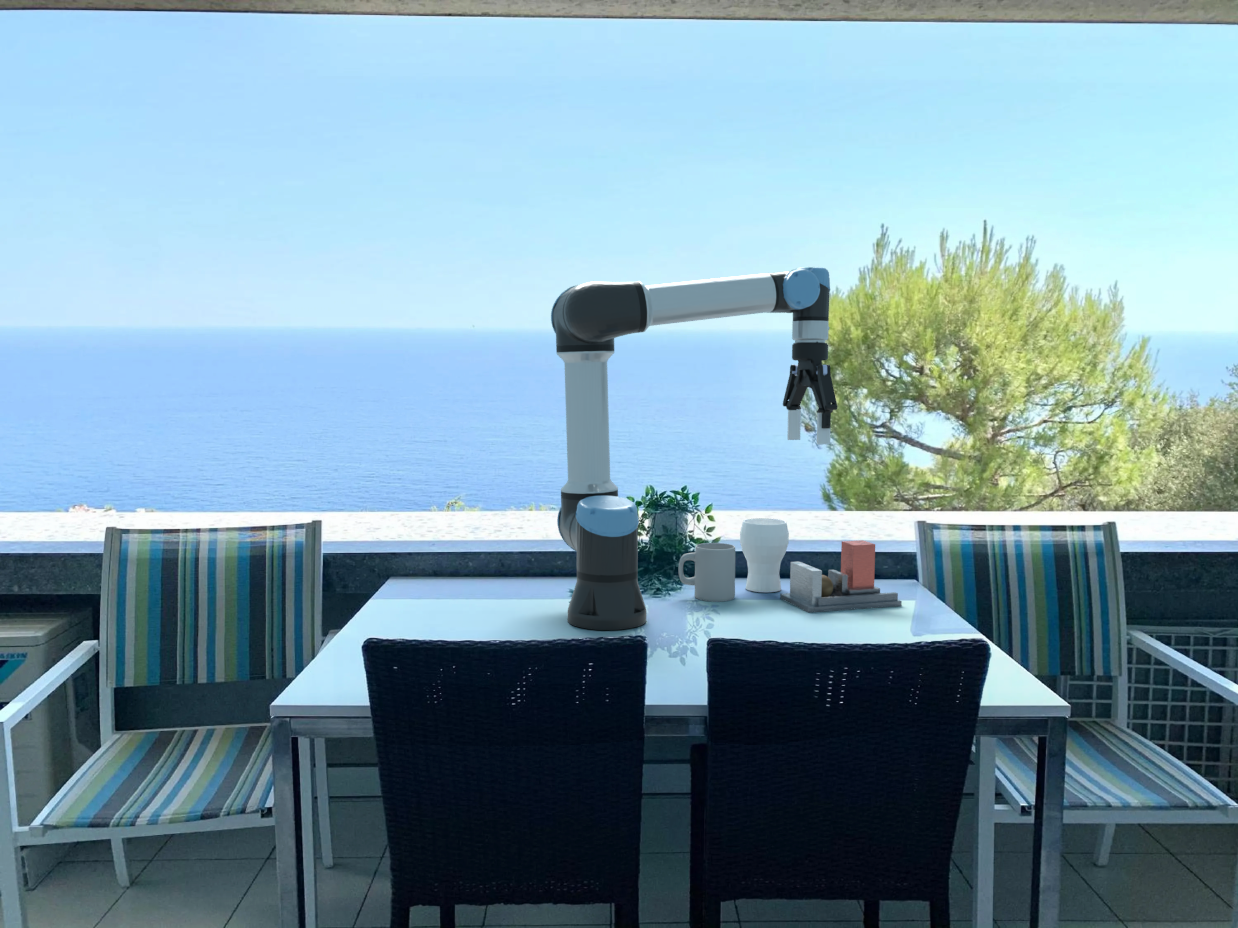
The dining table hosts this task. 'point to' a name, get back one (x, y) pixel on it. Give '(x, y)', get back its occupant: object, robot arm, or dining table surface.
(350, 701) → the dining table surface
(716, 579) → the mug
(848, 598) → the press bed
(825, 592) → the nut
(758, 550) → the cup
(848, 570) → the block
